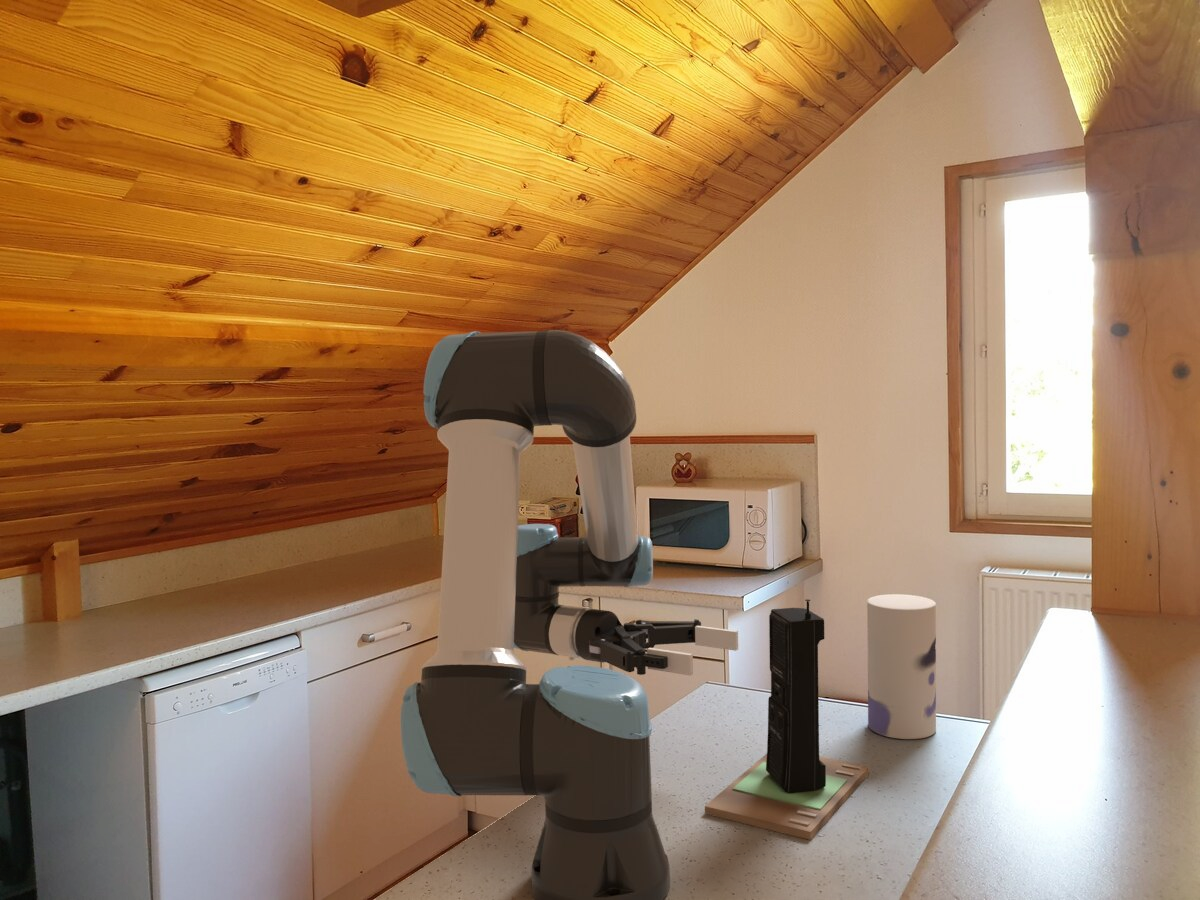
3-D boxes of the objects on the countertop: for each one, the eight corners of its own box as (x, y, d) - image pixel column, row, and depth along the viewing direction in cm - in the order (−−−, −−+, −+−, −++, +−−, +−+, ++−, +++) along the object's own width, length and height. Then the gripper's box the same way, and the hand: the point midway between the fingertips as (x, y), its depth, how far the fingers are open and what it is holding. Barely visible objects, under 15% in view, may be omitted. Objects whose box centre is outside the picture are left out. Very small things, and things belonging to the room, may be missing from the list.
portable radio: (761, 770, 132) (758, 590, 130) (803, 766, 134) (800, 587, 132) (783, 795, 125) (780, 603, 123) (827, 790, 126) (825, 600, 124)
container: (940, 741, 144) (940, 609, 142) (870, 738, 146) (869, 607, 144) (931, 718, 154) (931, 593, 152) (865, 715, 156) (865, 592, 154)
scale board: (810, 840, 115) (810, 830, 115) (704, 813, 123) (704, 804, 123) (869, 773, 133) (869, 765, 133) (774, 754, 141) (773, 746, 141)
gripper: (631, 639, 155) (754, 656, 143) (536, 681, 134) (670, 705, 123) (630, 593, 155) (753, 606, 143) (535, 627, 134) (669, 646, 122)
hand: (715, 652), depth 133 cm, fingers open, 13 cm apart
